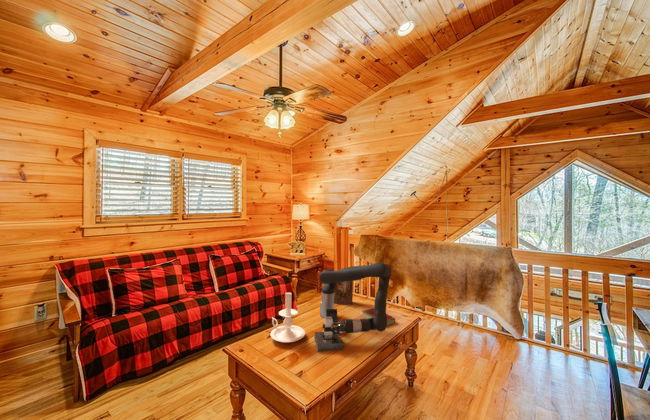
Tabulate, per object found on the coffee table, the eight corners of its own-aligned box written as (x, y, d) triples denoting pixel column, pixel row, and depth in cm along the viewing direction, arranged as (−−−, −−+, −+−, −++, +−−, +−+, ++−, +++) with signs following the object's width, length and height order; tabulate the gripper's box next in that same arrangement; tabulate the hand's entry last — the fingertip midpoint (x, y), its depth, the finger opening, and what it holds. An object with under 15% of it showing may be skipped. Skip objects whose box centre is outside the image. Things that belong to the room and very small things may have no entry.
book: (331, 303, 219) (332, 272, 218) (332, 300, 225) (333, 270, 224) (352, 304, 217) (353, 273, 216) (352, 301, 223) (353, 271, 222)
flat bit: (326, 331, 172) (326, 310, 172) (325, 329, 175) (325, 308, 174) (336, 330, 174) (337, 309, 173) (336, 328, 176) (336, 308, 175)
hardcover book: (373, 312, 204) (374, 306, 204) (395, 323, 186) (395, 317, 186) (361, 315, 197) (361, 310, 197) (382, 327, 180) (382, 321, 180)
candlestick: (283, 324, 180) (284, 283, 179) (312, 337, 165) (313, 291, 164) (258, 336, 164) (259, 291, 163) (287, 351, 149) (288, 301, 148)
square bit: (325, 343, 155) (325, 319, 154) (324, 340, 159) (324, 316, 158) (332, 343, 156) (332, 319, 155) (330, 339, 160) (331, 316, 159)
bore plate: (317, 351, 149) (317, 344, 149) (314, 338, 163) (314, 332, 163) (342, 349, 152) (342, 342, 151) (337, 337, 165) (337, 330, 165)
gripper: (349, 314, 166) (321, 316, 163) (355, 325, 152) (325, 327, 149) (349, 326, 166) (321, 328, 164) (355, 338, 152) (325, 340, 150)
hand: (323, 327), depth 156 cm, fingers closed on square bit, 4 cm apart
